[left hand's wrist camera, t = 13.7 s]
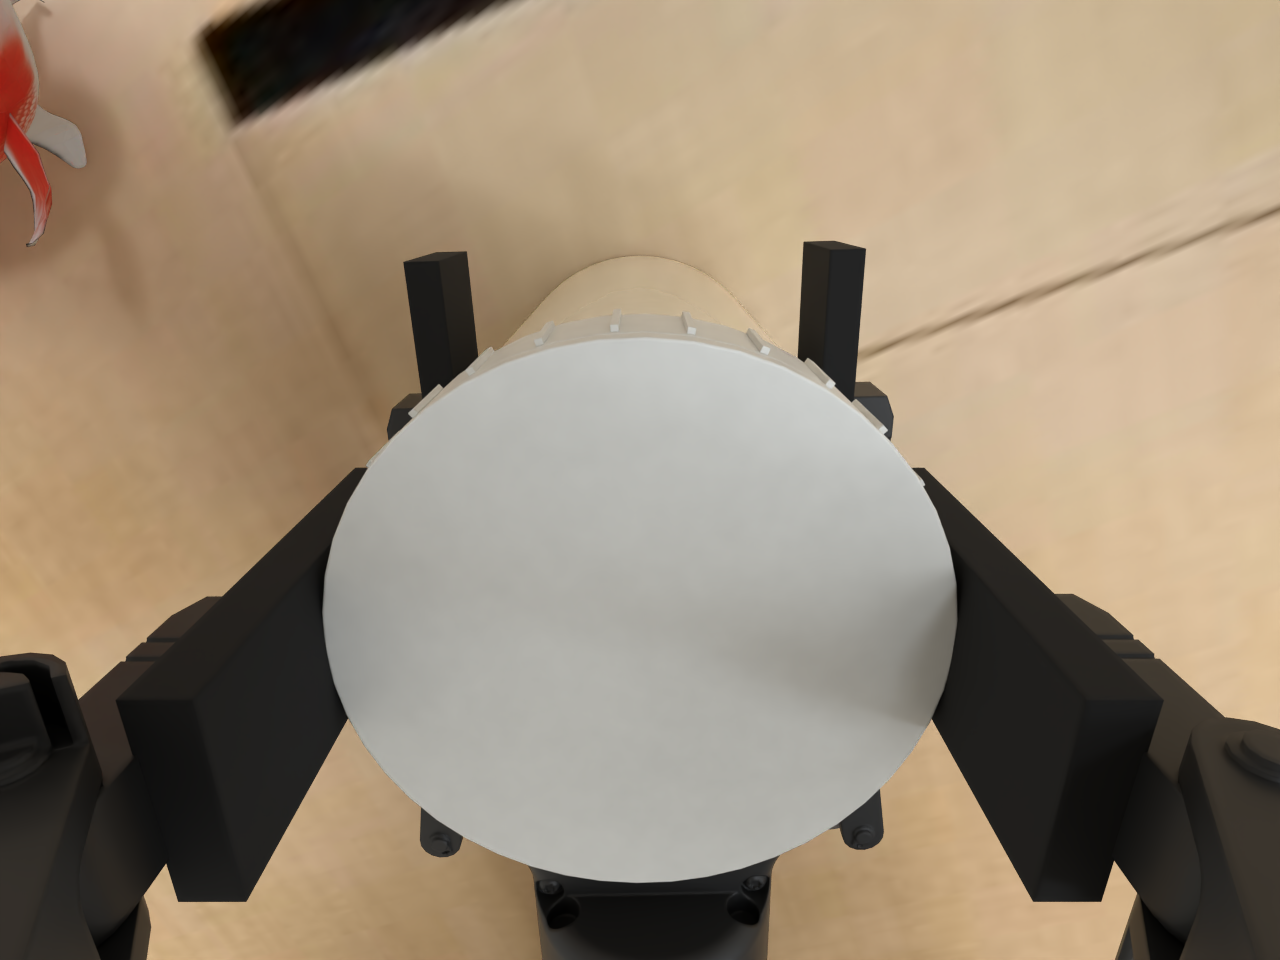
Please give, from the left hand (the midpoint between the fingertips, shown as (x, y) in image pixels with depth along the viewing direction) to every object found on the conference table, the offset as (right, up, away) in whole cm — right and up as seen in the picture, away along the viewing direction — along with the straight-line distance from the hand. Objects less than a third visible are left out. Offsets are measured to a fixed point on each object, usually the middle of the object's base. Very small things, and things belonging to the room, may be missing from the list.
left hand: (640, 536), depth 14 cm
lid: (0, -1, -3) cm, 3 cm away
